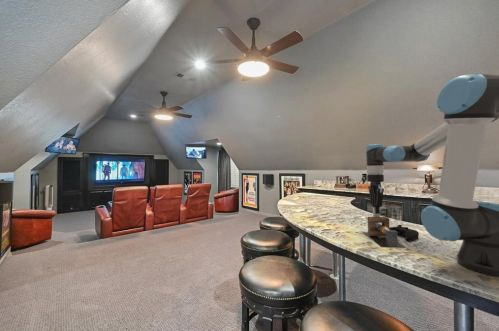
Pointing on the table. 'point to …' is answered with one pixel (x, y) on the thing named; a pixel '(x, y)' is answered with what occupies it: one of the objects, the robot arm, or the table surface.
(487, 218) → the robot arm
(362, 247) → the table surface
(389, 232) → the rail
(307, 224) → the table surface
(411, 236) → the gaming controller
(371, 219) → the collar
